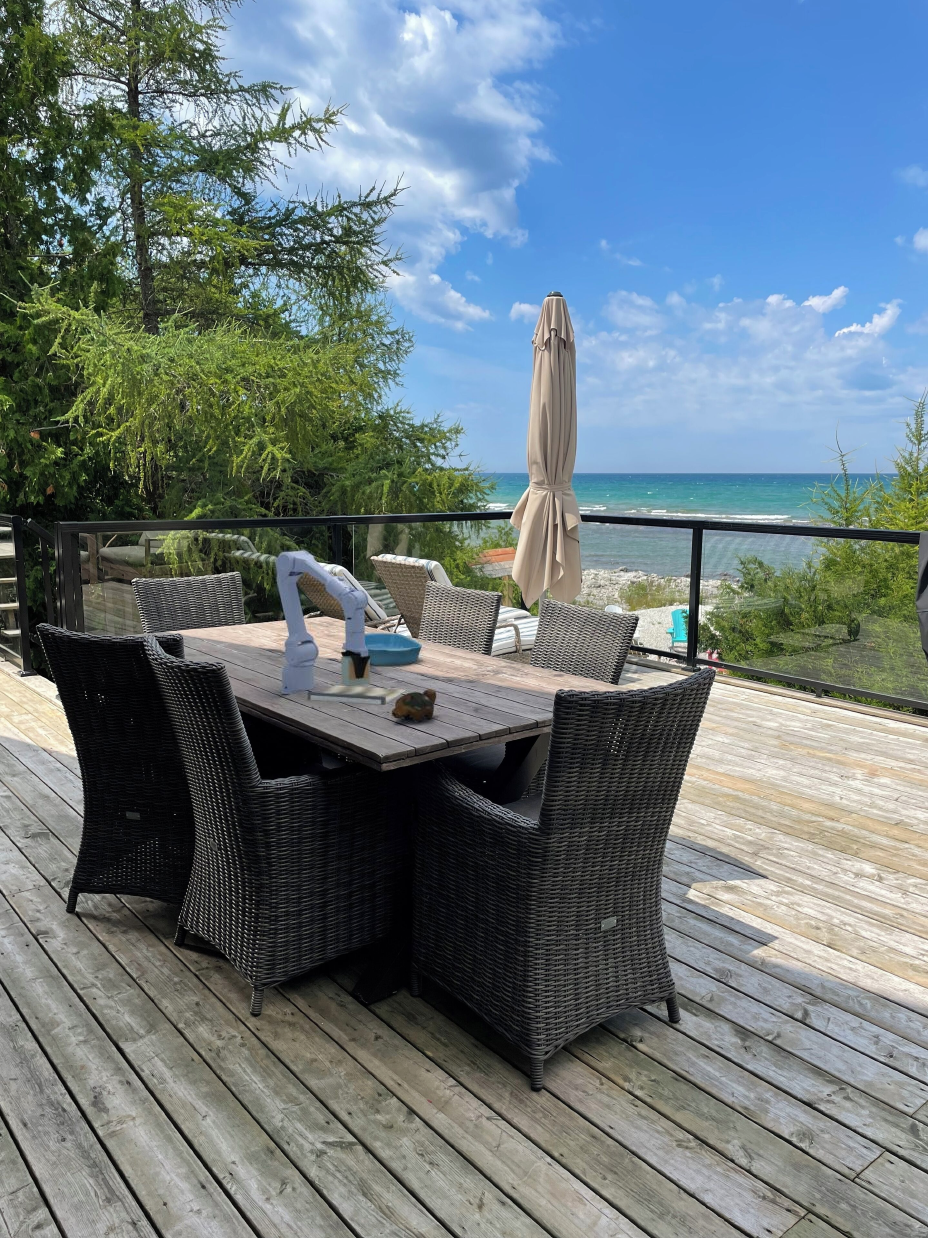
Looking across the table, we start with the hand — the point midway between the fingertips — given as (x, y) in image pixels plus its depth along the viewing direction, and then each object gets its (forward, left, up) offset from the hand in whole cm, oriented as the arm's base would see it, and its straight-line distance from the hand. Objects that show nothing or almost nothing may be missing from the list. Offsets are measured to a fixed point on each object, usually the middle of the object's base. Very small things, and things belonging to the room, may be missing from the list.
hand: (355, 676), depth 271 cm
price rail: (0, -7, -7) cm, 11 cm away
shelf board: (0, +3, -7) cm, 8 cm away
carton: (0, 0, -2) cm, 2 cm away
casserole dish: (-15, +67, -8) cm, 69 cm away
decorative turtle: (+24, -16, -8) cm, 30 cm away
